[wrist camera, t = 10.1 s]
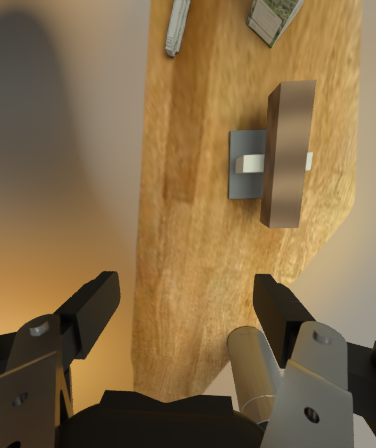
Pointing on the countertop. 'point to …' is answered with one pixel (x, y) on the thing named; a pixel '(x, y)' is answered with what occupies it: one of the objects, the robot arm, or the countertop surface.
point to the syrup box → (272, 17)
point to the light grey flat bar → (177, 26)
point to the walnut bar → (286, 152)
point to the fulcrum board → (238, 150)
